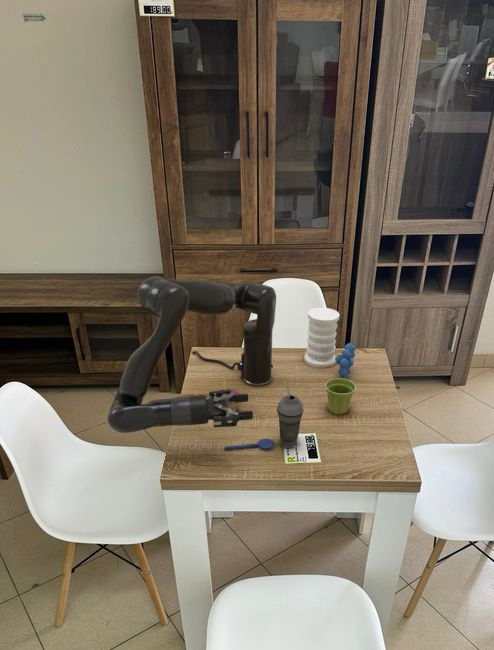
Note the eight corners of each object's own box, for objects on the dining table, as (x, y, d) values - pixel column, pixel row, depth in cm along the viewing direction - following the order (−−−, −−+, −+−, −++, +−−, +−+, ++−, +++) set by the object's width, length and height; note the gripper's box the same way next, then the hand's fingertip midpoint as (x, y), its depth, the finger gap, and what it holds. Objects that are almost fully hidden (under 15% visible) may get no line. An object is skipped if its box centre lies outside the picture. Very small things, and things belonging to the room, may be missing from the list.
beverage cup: (292, 454, 150) (296, 393, 139) (270, 445, 153) (272, 384, 142) (306, 441, 155) (310, 381, 144) (284, 432, 158) (287, 373, 147)
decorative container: (302, 352, 201) (305, 307, 191) (333, 352, 202) (337, 307, 192) (305, 367, 191) (308, 320, 182) (338, 367, 192) (343, 320, 183)
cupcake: (208, 410, 166) (206, 376, 160) (229, 400, 172) (228, 367, 165) (227, 422, 162) (226, 387, 155) (247, 411, 167) (248, 377, 160)
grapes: (338, 366, 194) (341, 335, 187) (356, 370, 192) (360, 339, 185) (328, 381, 184) (331, 349, 178) (347, 385, 182) (351, 353, 176)
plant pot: (351, 419, 165) (354, 395, 161) (320, 415, 167) (323, 391, 162) (354, 403, 173) (357, 380, 168) (325, 399, 174) (327, 376, 170)
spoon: (225, 454, 149) (225, 451, 148) (223, 444, 152) (223, 442, 152) (275, 449, 151) (275, 447, 151) (272, 440, 155) (272, 437, 154)
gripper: (189, 413, 133) (254, 408, 136) (186, 384, 145) (246, 380, 148) (191, 438, 137) (254, 432, 140) (187, 408, 149) (246, 403, 152)
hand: (250, 405), depth 144 cm, fingers open, 8 cm apart
